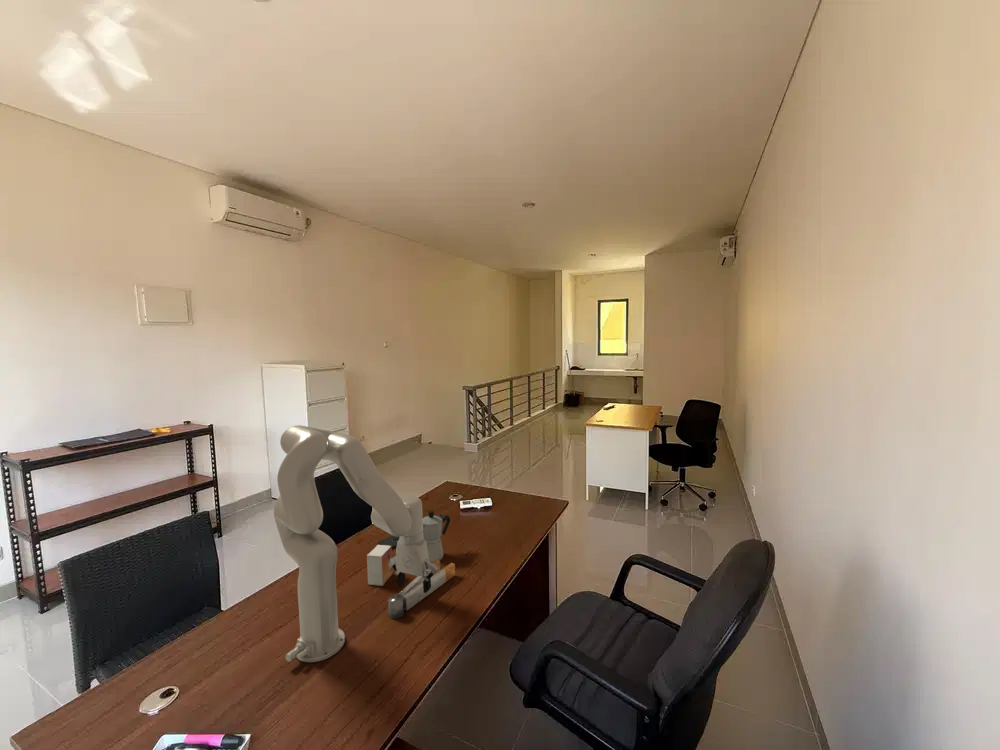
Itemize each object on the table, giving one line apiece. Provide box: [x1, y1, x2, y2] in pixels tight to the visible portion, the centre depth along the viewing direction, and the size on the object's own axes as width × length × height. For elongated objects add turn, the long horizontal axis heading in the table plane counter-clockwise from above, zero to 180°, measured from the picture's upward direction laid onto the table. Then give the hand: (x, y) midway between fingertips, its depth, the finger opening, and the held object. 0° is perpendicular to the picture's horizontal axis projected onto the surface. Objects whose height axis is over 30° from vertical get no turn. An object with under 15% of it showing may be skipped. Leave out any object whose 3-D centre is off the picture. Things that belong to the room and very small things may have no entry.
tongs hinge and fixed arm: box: [387, 560, 441, 620], centre depth 142 cm, size 28×4×5 cm, turn 157°
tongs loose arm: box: [403, 562, 456, 612], centre depth 142 cm, size 23×2×4 cm, turn 147°
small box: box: [366, 544, 394, 586], centre depth 150 cm, size 8×6×10 cm
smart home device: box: [377, 535, 400, 550], centre depth 181 cm, size 8×2×20 cm
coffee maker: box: [423, 509, 452, 563], centre depth 165 cm, size 15×9×18 cm, turn 131°
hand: (414, 587), depth 139 cm, fingers open, 9 cm apart
